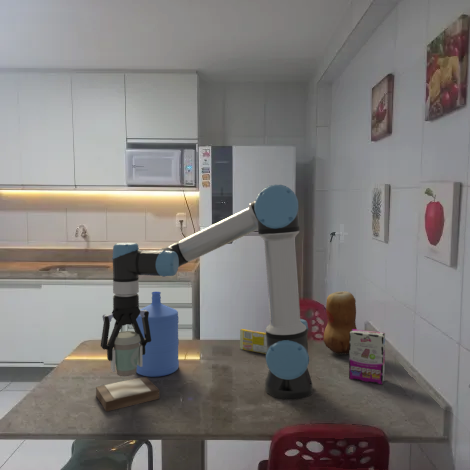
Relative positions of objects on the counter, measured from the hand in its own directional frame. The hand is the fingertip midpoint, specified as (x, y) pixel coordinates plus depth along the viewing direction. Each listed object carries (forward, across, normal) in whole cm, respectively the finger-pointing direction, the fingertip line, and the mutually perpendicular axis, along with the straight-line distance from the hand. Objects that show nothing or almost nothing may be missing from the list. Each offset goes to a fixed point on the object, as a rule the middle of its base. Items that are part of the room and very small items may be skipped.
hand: (126, 367), depth 132 cm
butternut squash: (+9, -85, +5) cm, 86 cm away
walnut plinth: (+9, 0, 0) cm, 9 cm away
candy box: (+9, -58, -14) cm, 60 cm away
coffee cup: (+2, 0, 0) cm, 2 cm away
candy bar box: (+9, -74, +28) cm, 80 cm away
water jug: (+10, -16, -17) cm, 25 cm away
